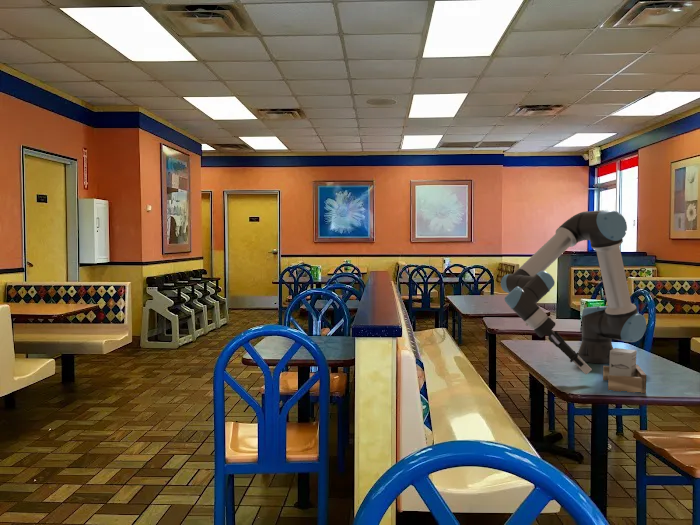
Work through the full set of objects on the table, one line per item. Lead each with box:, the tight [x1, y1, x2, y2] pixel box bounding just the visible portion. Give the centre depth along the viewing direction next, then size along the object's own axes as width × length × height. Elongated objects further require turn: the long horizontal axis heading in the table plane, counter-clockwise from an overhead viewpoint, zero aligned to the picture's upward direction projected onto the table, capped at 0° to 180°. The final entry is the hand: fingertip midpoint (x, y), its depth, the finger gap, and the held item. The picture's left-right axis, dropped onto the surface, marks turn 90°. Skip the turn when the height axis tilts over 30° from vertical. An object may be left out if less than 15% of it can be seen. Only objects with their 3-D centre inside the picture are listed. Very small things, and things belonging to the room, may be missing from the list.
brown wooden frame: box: [602, 363, 647, 394], centre depth 203 cm, size 17×12×6 cm
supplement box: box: [608, 347, 638, 377], centre depth 204 cm, size 7×7×13 cm
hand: (588, 371), depth 206 cm, fingers closed
